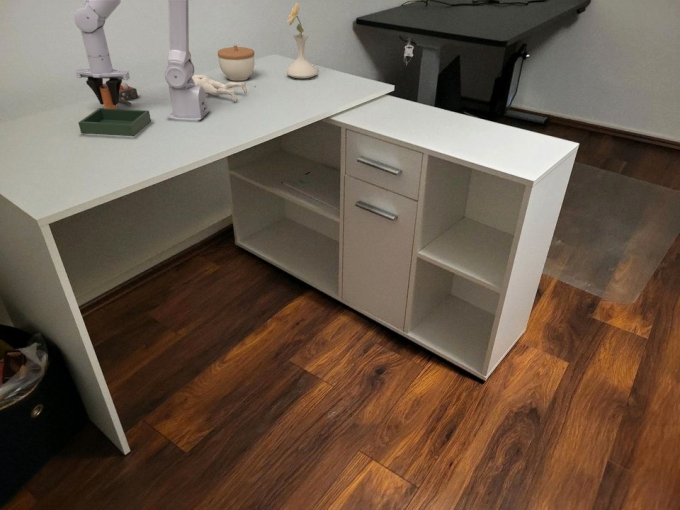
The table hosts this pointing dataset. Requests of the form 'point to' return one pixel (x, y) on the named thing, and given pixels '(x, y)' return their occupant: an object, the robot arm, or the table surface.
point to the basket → (115, 122)
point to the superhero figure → (217, 86)
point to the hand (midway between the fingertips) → (109, 103)
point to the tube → (107, 98)
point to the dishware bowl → (236, 62)
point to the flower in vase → (300, 51)
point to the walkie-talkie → (126, 93)
